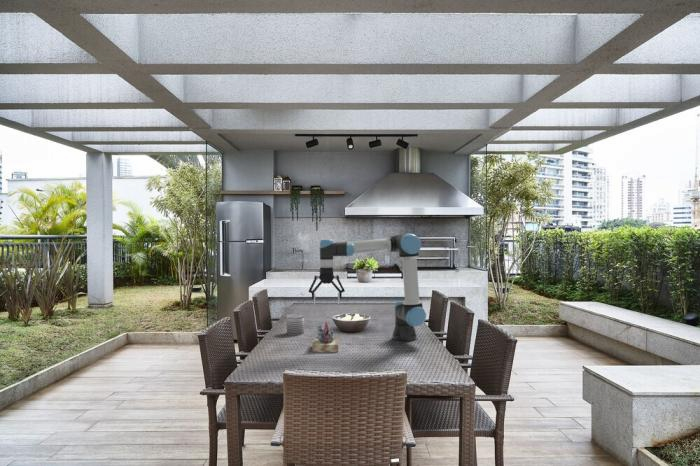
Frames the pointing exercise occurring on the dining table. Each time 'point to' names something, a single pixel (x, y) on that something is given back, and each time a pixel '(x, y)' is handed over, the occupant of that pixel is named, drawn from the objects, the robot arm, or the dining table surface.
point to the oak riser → (325, 346)
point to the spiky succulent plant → (325, 334)
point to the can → (295, 324)
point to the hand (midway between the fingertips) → (326, 304)
